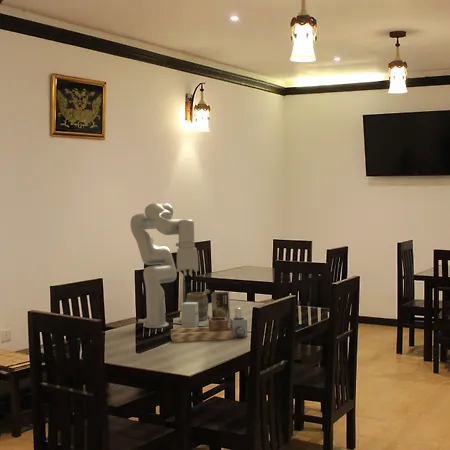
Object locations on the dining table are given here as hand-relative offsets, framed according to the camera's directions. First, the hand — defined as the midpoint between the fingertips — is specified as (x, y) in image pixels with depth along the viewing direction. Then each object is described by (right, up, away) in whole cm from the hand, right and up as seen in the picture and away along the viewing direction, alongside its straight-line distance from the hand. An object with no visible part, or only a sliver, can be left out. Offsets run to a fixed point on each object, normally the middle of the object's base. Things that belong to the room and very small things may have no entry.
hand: (188, 283), depth 333 cm
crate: (+15, -24, -3) cm, 28 cm away
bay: (+7, -25, -4) cm, 26 cm away
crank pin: (+24, -19, -2) cm, 31 cm away
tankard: (+5, -23, +50) cm, 55 cm away
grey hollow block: (+25, -24, -4) cm, 35 cm away
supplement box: (0, -25, +22) cm, 33 cm away
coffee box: (+16, -24, +33) cm, 44 cm away
